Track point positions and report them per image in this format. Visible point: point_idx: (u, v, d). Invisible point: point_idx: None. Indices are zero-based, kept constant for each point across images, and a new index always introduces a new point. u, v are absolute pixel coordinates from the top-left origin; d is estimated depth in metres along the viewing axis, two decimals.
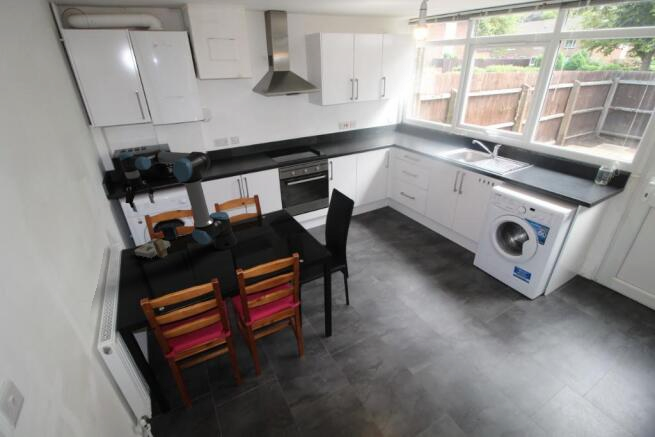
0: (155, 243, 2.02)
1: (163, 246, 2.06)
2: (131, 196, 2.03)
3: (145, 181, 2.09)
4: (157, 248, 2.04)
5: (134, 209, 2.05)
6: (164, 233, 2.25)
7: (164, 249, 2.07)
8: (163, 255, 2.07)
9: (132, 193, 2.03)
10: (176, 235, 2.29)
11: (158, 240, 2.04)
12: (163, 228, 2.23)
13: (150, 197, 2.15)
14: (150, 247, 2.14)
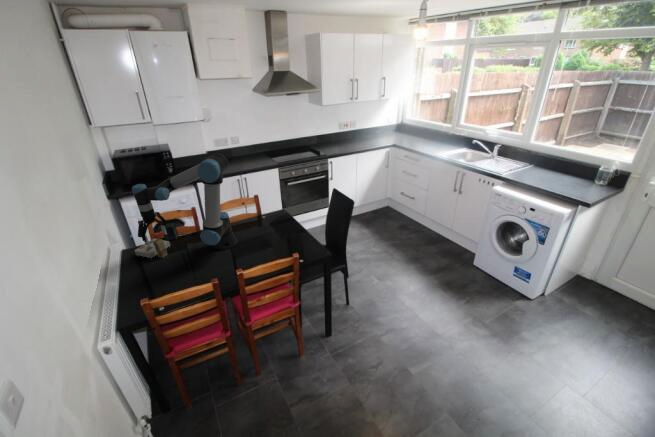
0: (155, 243, 2.02)
1: (163, 246, 2.06)
2: (143, 229, 1.93)
3: (158, 213, 2.00)
4: (157, 248, 2.04)
5: (146, 242, 1.96)
6: None
7: (164, 249, 2.07)
8: (163, 255, 2.07)
9: (144, 226, 1.94)
10: (176, 235, 2.29)
11: (158, 240, 2.04)
12: None
13: (162, 228, 2.06)
14: (150, 247, 2.14)
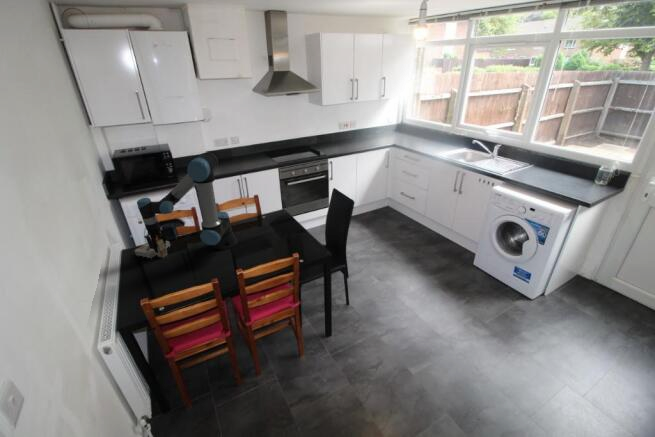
0: None
1: (163, 246, 2.06)
2: (153, 242, 2.01)
3: (163, 227, 2.05)
4: None
5: (158, 254, 2.05)
6: None
7: (164, 249, 2.07)
8: (163, 255, 2.07)
9: (153, 239, 2.00)
10: (176, 235, 2.29)
11: (158, 240, 2.04)
12: None
13: None
14: None
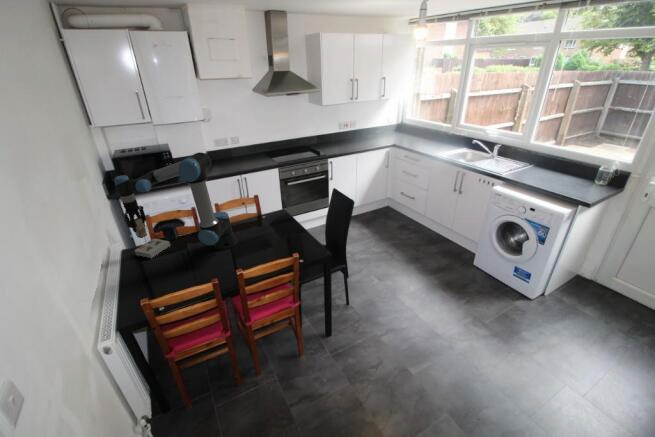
0: None
1: (142, 225, 2.03)
2: (131, 221, 1.98)
3: (142, 206, 2.02)
4: None
5: (137, 233, 2.03)
6: (164, 233, 2.25)
7: (143, 229, 2.04)
8: (142, 235, 2.04)
9: (131, 218, 1.98)
10: (176, 235, 2.29)
11: (137, 219, 2.01)
12: (163, 228, 2.23)
13: None
14: (150, 247, 2.14)
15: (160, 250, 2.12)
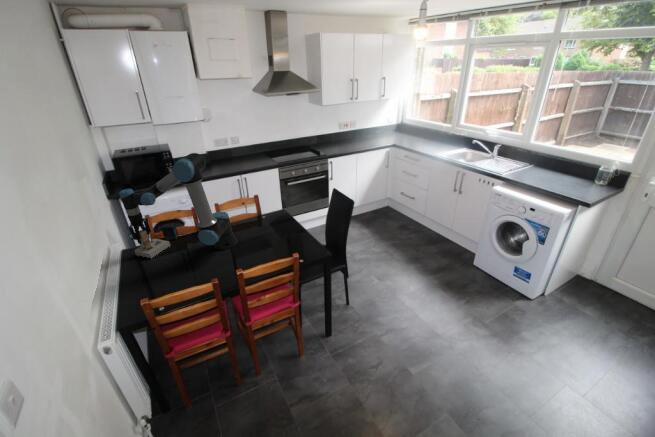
0: None
1: (146, 237, 2.07)
2: (136, 233, 2.02)
3: (146, 218, 2.06)
4: None
5: (141, 245, 2.07)
6: (164, 233, 2.25)
7: (147, 240, 2.08)
8: (146, 246, 2.08)
9: (136, 230, 2.02)
10: (176, 235, 2.29)
11: (141, 231, 2.05)
12: (163, 228, 2.23)
13: None
14: (150, 247, 2.14)
15: (160, 250, 2.12)
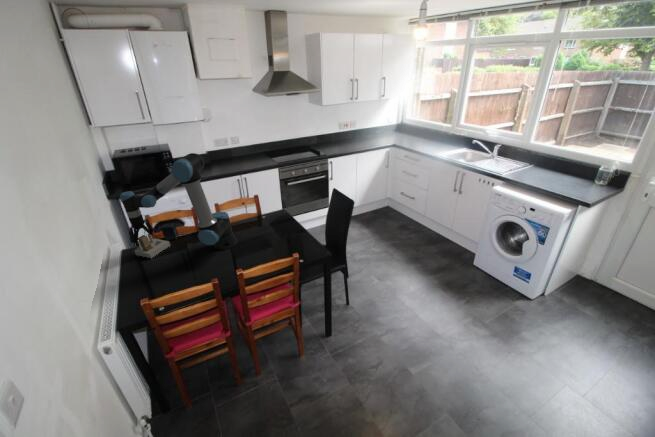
0: (140, 240, 2.05)
1: (148, 242, 2.09)
2: (135, 235, 2.02)
3: (147, 220, 2.07)
4: (142, 244, 2.07)
5: (139, 248, 2.05)
6: (164, 233, 2.25)
7: (149, 245, 2.10)
8: None
9: (135, 232, 2.01)
10: (176, 235, 2.29)
11: (143, 237, 2.07)
12: (163, 228, 2.23)
13: (149, 237, 2.12)
14: None
15: (160, 250, 2.12)
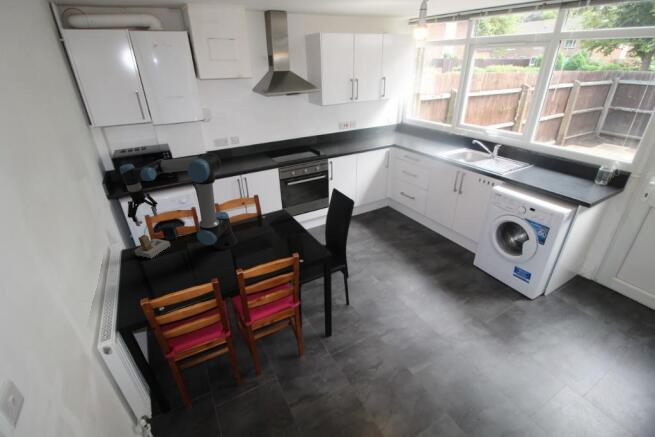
0: (140, 239, 2.06)
1: (148, 242, 2.09)
2: (133, 210, 1.94)
3: (147, 194, 2.00)
4: (143, 244, 2.07)
5: (137, 223, 1.97)
6: (164, 233, 2.25)
7: (150, 245, 2.10)
8: None
9: (134, 207, 1.94)
10: (176, 235, 2.29)
11: (143, 236, 2.07)
12: (163, 228, 2.23)
13: (153, 210, 2.07)
14: None
15: (160, 250, 2.12)
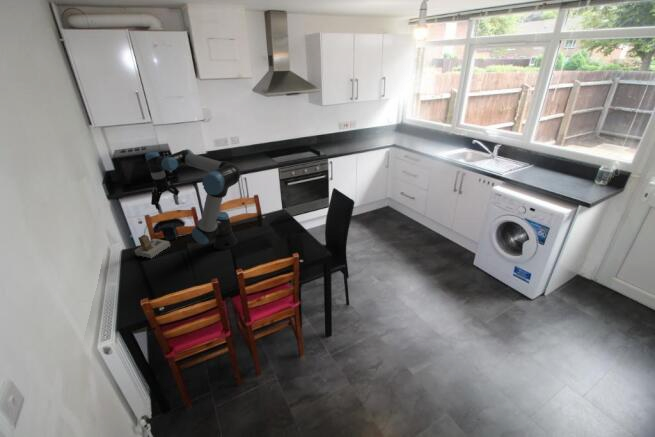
0: (140, 239, 2.06)
1: (148, 242, 2.09)
2: (157, 197, 1.96)
3: (170, 182, 2.02)
4: (143, 244, 2.07)
5: (159, 211, 1.98)
6: (164, 233, 2.25)
7: (150, 245, 2.10)
8: None
9: (158, 194, 1.96)
10: (176, 235, 2.29)
11: (143, 236, 2.07)
12: (163, 228, 2.23)
13: (175, 198, 2.08)
14: None
15: (160, 250, 2.12)
